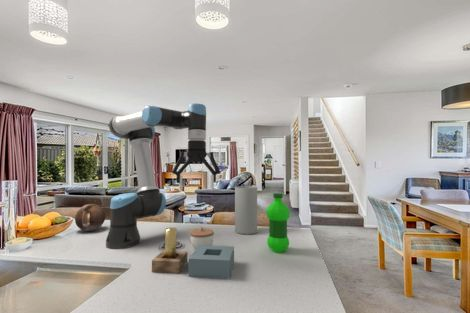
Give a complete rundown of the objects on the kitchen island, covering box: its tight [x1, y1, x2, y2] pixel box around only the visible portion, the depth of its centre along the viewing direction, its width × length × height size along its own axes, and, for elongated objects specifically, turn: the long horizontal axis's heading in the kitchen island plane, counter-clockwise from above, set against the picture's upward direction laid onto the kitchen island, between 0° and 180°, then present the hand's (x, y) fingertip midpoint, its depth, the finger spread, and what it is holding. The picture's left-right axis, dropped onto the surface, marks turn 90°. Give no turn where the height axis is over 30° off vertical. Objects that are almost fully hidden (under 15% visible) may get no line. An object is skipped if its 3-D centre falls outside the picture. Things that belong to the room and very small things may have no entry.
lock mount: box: [151, 250, 189, 274], centre depth 93 cm, size 10×10×4 cm
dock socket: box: [188, 245, 235, 279], centre depth 91 cm, size 14×14×6 cm
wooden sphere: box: [74, 203, 106, 232], centre depth 141 cm, size 15×15×15 cm
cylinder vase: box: [234, 185, 258, 235], centre depth 140 cm, size 12×12×25 cm
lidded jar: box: [189, 227, 215, 251], centre depth 112 cm, size 11×11×9 cm
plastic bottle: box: [266, 192, 291, 253], centre depth 110 cm, size 10×10×25 cm
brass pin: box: [164, 226, 177, 259], centre depth 93 cm, size 4×4×14 cm
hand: (196, 190), depth 106 cm, fingers open, 13 cm apart
